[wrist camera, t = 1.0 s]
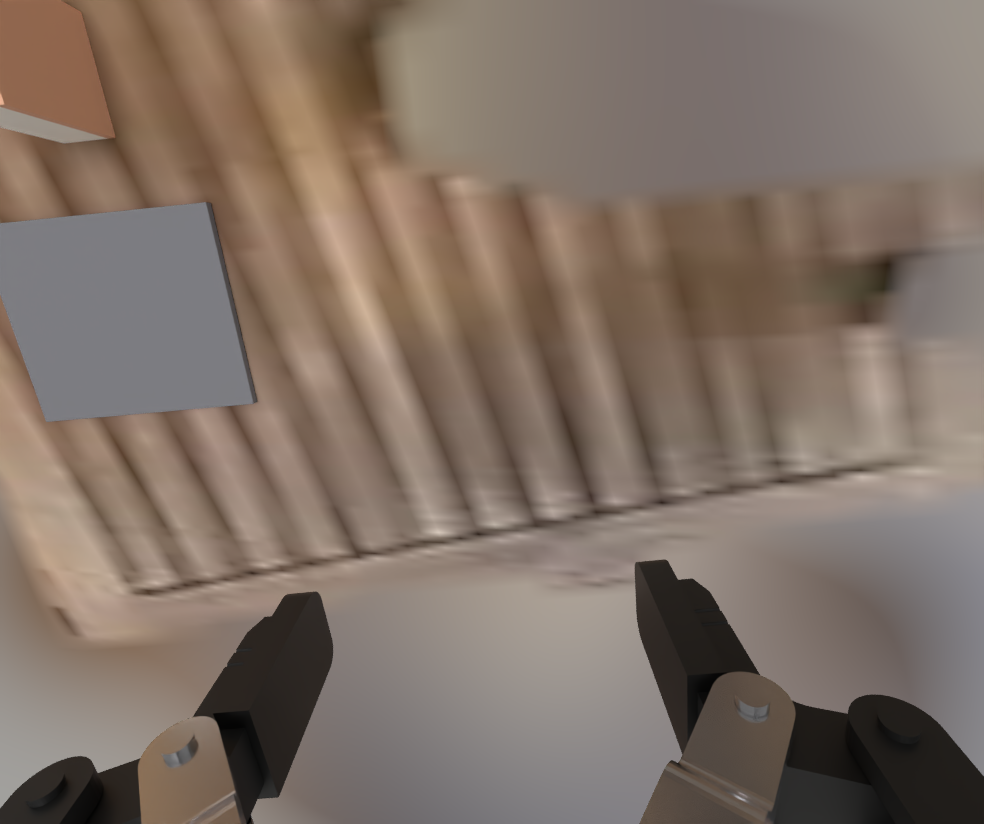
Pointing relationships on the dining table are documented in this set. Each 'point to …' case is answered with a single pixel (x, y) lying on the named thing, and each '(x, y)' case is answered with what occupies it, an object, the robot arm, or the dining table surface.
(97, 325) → the mat
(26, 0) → the white block copper side
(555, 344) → the dining table surface
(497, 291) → the dining table surface
